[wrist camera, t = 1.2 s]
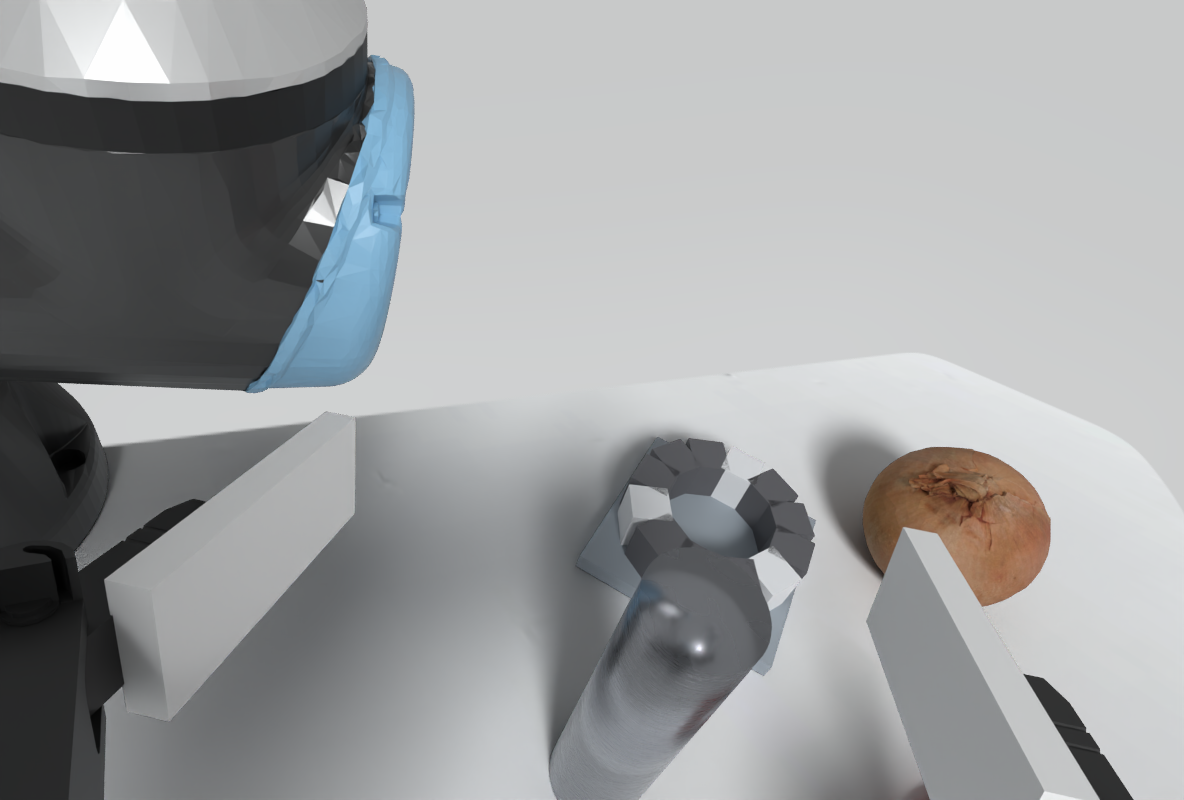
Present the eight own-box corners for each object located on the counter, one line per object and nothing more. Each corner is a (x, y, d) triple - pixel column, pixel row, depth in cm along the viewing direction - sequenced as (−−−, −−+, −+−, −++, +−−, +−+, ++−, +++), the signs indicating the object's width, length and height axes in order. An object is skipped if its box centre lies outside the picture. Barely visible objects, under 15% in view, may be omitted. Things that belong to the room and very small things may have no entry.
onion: (852, 617, 41) (873, 552, 33) (856, 484, 46) (875, 401, 38) (1027, 646, 38) (1096, 583, 30) (1011, 501, 43) (1066, 415, 36)
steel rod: (532, 789, 27) (617, 623, 18) (576, 705, 30) (669, 525, 21) (616, 846, 27) (750, 703, 17) (653, 754, 30) (786, 590, 20)
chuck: (575, 565, 36) (590, 527, 33) (652, 446, 44) (669, 409, 41) (763, 676, 34) (793, 643, 31) (808, 529, 42) (834, 495, 39)
